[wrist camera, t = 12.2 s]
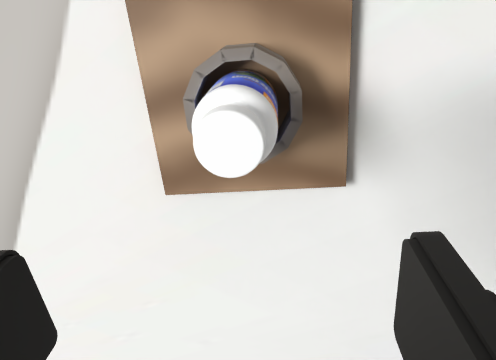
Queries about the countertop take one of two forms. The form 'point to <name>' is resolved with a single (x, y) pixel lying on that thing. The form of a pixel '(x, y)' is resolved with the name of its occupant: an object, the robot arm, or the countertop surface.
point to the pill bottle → (235, 124)
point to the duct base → (255, 59)
